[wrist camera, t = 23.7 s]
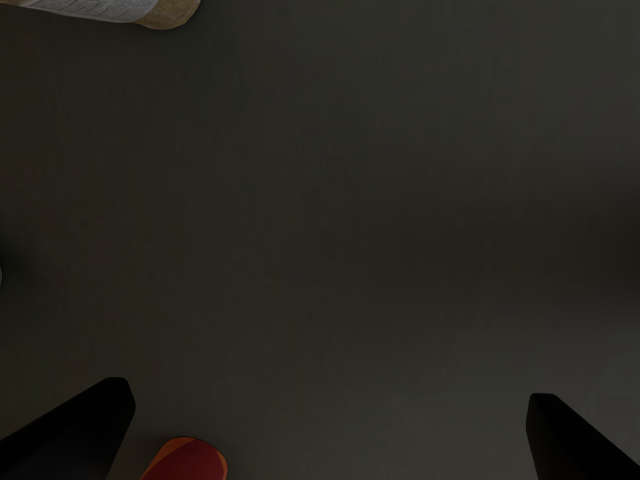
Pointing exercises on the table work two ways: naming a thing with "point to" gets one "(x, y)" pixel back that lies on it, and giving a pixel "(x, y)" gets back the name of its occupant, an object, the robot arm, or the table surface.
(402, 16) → the table surface
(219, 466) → the paper cup
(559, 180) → the table surface
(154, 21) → the spice jar
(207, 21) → the table surface
